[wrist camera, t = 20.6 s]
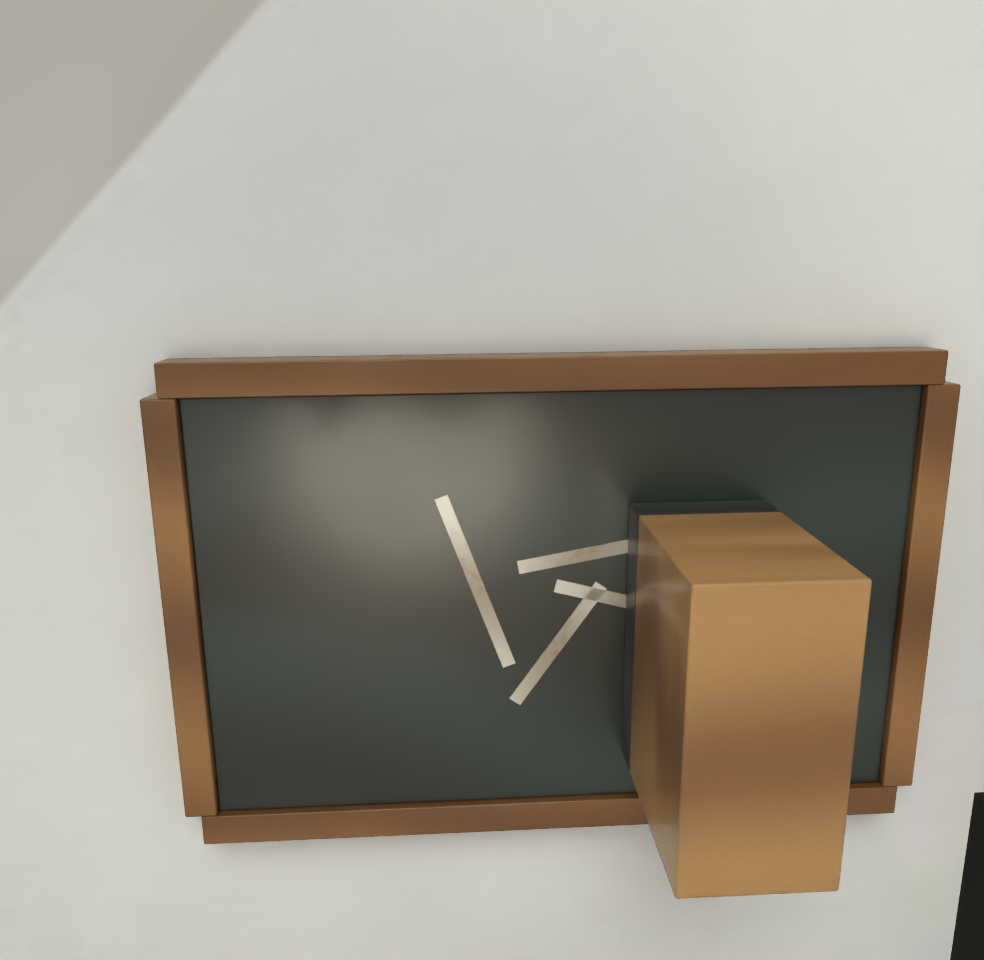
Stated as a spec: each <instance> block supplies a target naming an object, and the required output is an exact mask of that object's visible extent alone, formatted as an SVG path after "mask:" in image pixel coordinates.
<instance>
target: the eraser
mask: <svg viewBox="0 0 984 960" xmlns="http://www.w3.org/2000/svg"><path fill="white" fill-rule="evenodd" d="M871 586H872V581H871V579H870V578H868V577H867V576H866V575H864V574H863V573H862V572H860V571H859V570H858V569H856V568H855V567H854V566H852V565H851V564H850V563H848V562H847V561H846V560H844V559H843V558H842V557H840V556H839V555H838V554H836V553H835V552H834V551H832V550H831V549H830V548H828V547H827V546H826V545H824V544H823V543H822V542H820V541H819V540H818V539H816V538H815V537H814V536H812V535H811V534H810V533H808V532H807V531H806V530H804V529H803V528H802V527H800V526H799V525H798V524H796V523H795V522H794V521H792V520H791V519H790V518H788V517H787V516H786V515H784V514H783V513H781V511H779V510H778V509H777V508H775V507H774V506H773V505H771V504H770V503H769V502H767V501H766V500H743V501H702V502H661V503H631V504H630V505H629V533H628V564H627V595H626V626H625V657H624V688H623V720H622V753H623V755H624V758H625V761H626V764H627V766H628V769H629V771H630V774H631V777H632V780H633V782H634V785H635V788H636V791H637V794H638V796H639V799H640V802H641V805H642V807H643V810H644V813H645V816H646V818H647V821H648V824H649V827H650V829H651V832H652V835H653V838H654V840H655V843H656V846H657V849H658V851H659V854H660V857H661V860H662V862H663V865H664V868H665V871H666V874H667V876H668V879H669V882H670V885H671V887H672V890H673V893H674V896H675V897H676V898H678V899H680V898H701V897H722V896H743V895H763V894H784V893H805V892H826V891H837V890H838V889H839V880H840V871H841V862H842V853H843V843H844V834H845V825H846V816H847V807H848V797H849V788H850V779H851V770H852V761H853V752H854V742H855V733H856V724H857V715H858V706H859V696H860V687H861V678H862V669H863V660H864V651H865V641H866V632H867V623H868V614H869V605H870V595H871Z"/></svg>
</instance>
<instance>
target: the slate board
mask: <svg viewBox="0 0 984 960" xmlns="http://www.w3.org/2000/svg"><path fill="white" fill-rule="evenodd" d="M947 359H948V351H947V350H942V349H936V348H930V347H876V348H813V349H749V350H685V351H622V352H558V353H495V354H431V355H367V356H304V357H240V358H176V359H166V360H163V361H160V362H157V363H154V371H155V380H156V390H157V393H155V394H152V395H150V396H148V397H146V398H143V399H141V400H140V408H141V417H142V426H143V435H144V444H145V453H146V462H147V471H148V480H149V489H150V499H151V508H152V517H153V526H154V535H155V544H156V553H157V562H158V571H159V580H160V589H161V598H162V607H163V616H164V625H165V635H166V644H167V653H168V662H169V671H170V680H171V689H172V698H173V707H174V716H175V725H176V734H177V743H178V752H179V761H180V770H181V780H182V789H183V798H184V807H185V815H186V817H197V816H202V828H203V837H204V844H219V843H241V842H263V841H285V840H307V839H329V838H351V837H373V836H395V835H417V834H439V833H461V832H483V831H505V830H527V829H549V828H571V827H593V826H615V825H637V824H648V821H647V818H646V816H645V813H644V810H643V807H642V805H641V802H640V799H639V796H638V794H637V791H636V788H635V785H634V782H633V780H632V777H631V774H630V771H629V769H628V766H627V764H626V761H625V758H624V755H623V753H622V720H623V688H624V657H625V626H626V595H627V564H628V533H629V505H630V504H631V503H661V502H702V501H743V500H766V501H767V502H769V503H770V504H771V505H773V506H774V507H775V508H777V509H778V510H779V511H781V513H783V514H784V515H786V516H787V517H788V518H790V519H791V520H792V521H794V522H795V523H796V524H798V525H799V526H800V527H802V528H803V529H804V530H806V531H807V532H808V533H810V534H811V535H812V536H814V537H815V538H816V539H818V540H819V541H820V542H822V543H823V544H824V545H826V546H827V547H828V548H830V549H831V550H832V551H834V552H835V553H836V554H838V555H839V556H840V557H842V558H843V559H844V560H846V561H847V562H848V563H850V564H851V565H852V566H854V567H855V568H856V569H858V570H859V571H860V572H862V573H863V574H864V575H866V576H867V577H868V578H870V579H871V581H872V586H871V595H870V605H869V614H868V623H867V632H866V641H865V651H864V660H863V669H862V678H861V687H860V696H859V706H858V715H857V724H856V733H855V742H854V752H853V761H852V770H851V779H850V788H849V797H848V807H847V815H857V814H879V813H894V809H895V800H896V792H897V786H910V785H912V778H913V770H914V761H915V753H916V745H917V737H918V729H919V721H920V713H921V704H922V696H923V688H924V680H925V672H926V664H927V655H928V647H929V639H930V631H931V623H932V615H933V606H934V598H935V590H936V582H937V574H938V566H939V558H940V549H941V541H942V533H943V525H944V517H945V509H946V500H947V492H948V484H949V476H950V468H951V460H952V451H953V443H954V435H955V427H956V419H957V411H958V403H959V394H960V385H959V384H955V383H951V382H946V381H945V376H946V367H947Z"/></svg>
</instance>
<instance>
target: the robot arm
mask: <svg viewBox="0 0 984 960" xmlns="http://www.w3.org/2000/svg"><path fill="white" fill-rule="evenodd" d="M950 960H984V792H980V793H975V794H974V801H973V808H972V815H971V821H970V828H969V835H968V842H967V849H966V856H965V863H964V870H963V876H962V883H961V890H960V897H959V904H958V911H957V918H956V925H955V931H954V938H953V945H952V952H951V959H950Z"/></svg>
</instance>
